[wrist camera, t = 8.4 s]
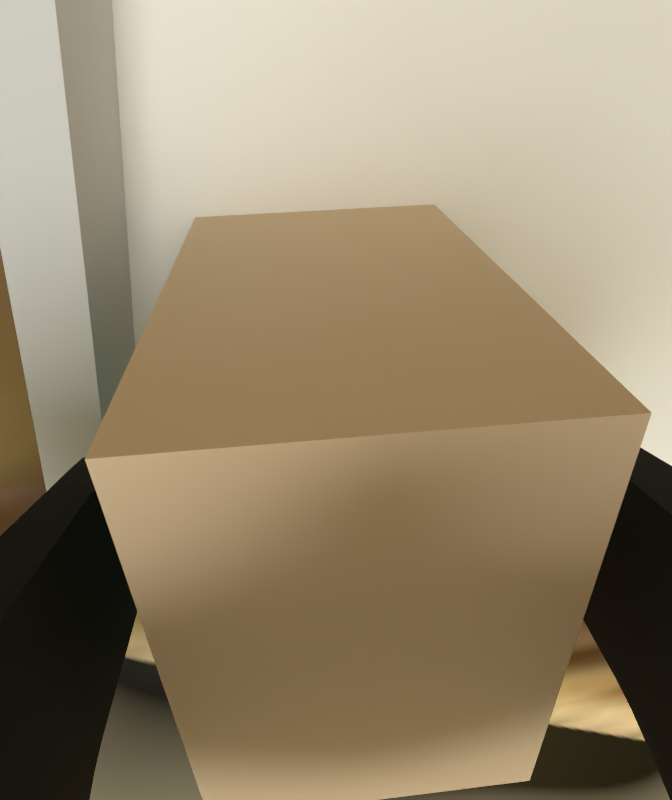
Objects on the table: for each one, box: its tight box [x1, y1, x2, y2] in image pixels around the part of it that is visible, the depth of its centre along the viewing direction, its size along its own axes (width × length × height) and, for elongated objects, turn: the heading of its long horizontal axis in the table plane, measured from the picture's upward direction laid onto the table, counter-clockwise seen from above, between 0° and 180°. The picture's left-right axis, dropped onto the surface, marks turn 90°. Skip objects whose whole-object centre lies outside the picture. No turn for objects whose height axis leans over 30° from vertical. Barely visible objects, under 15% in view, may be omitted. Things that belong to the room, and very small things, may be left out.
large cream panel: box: [0, 0, 672, 492], centre depth 12 cm, size 15×18×4 cm
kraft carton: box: [85, 204, 652, 800], centre depth 10 cm, size 5×7×8 cm
